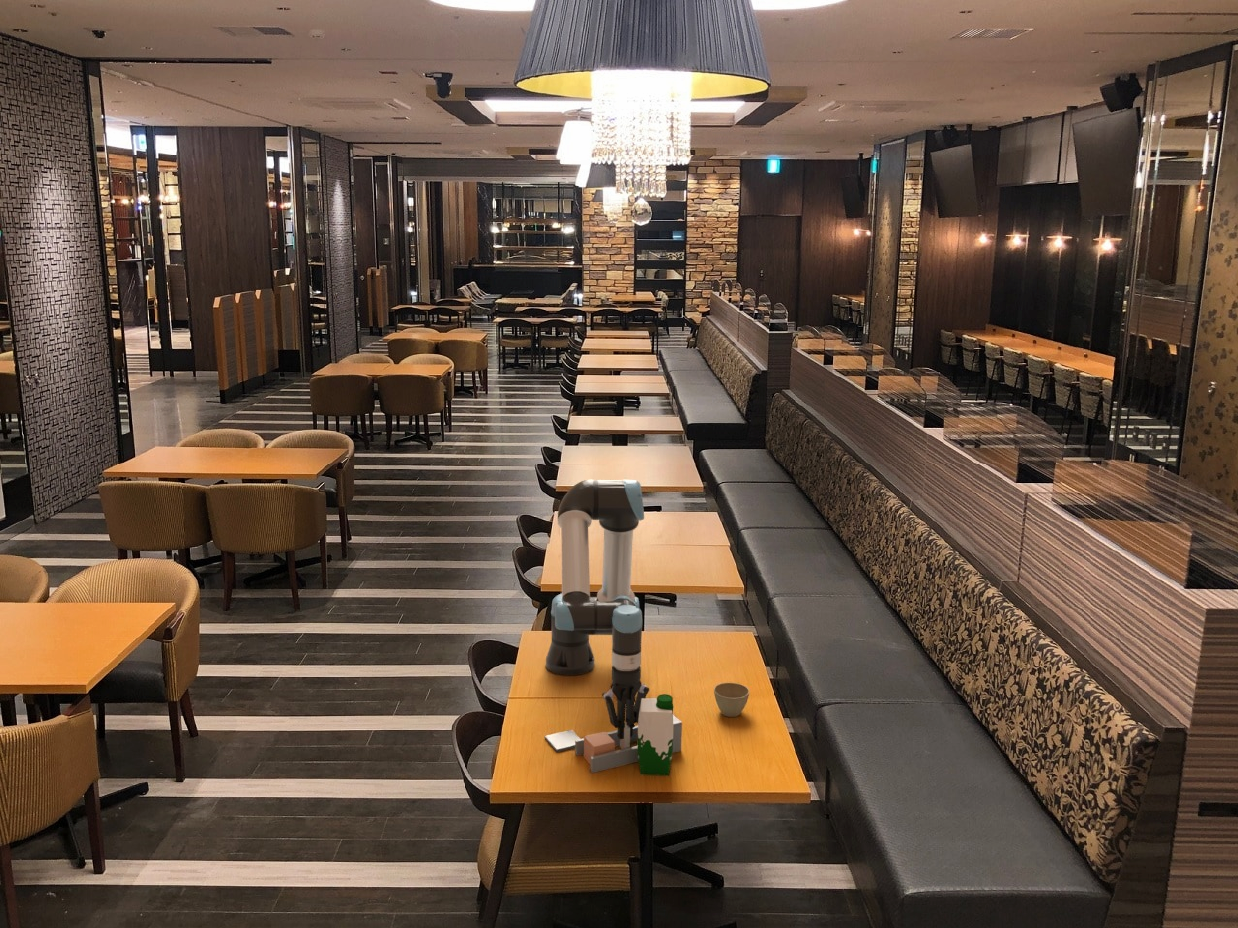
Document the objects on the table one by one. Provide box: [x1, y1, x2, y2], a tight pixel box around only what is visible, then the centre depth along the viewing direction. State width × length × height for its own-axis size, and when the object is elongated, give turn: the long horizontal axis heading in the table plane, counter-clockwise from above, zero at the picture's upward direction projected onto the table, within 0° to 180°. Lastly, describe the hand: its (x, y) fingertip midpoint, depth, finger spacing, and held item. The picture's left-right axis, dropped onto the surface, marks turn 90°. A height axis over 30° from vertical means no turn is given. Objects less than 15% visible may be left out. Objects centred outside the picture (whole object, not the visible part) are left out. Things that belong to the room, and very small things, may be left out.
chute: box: [574, 714, 683, 774], centre depth 274 cm, size 10×26×8 cm, turn 117°
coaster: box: [544, 729, 581, 753], centre depth 280 cm, size 8×8×1 cm
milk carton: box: [636, 693, 674, 776], centre depth 266 cm, size 9×9×20 cm
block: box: [583, 731, 616, 765], centre depth 271 cm, size 6×6×6 cm
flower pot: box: [713, 682, 750, 718], centre depth 296 cm, size 10×10×7 cm
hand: (624, 748), depth 274 cm, fingers closed
